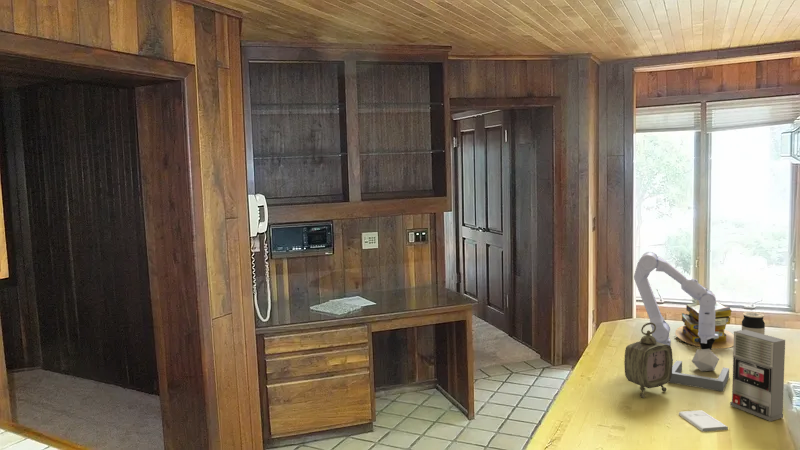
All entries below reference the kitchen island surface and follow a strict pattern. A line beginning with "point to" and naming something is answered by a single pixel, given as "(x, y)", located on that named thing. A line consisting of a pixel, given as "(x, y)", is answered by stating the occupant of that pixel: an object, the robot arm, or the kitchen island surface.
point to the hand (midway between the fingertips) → (706, 356)
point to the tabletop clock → (648, 362)
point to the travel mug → (753, 322)
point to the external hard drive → (703, 420)
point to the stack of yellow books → (692, 326)
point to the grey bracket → (699, 378)
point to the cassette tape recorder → (758, 374)
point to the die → (705, 360)
